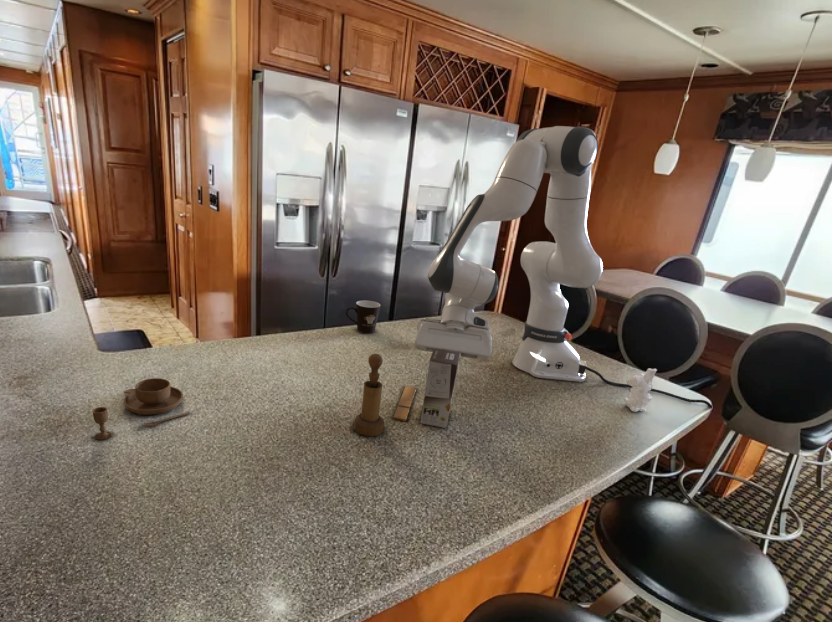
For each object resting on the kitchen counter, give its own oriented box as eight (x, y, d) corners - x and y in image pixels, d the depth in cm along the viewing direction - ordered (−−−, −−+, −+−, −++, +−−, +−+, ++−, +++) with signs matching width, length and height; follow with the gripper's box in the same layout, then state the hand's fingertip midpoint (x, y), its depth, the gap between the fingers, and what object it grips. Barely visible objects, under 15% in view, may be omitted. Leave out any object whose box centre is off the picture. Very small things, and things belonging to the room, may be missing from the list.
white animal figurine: (634, 401, 130) (647, 363, 126) (656, 413, 125) (670, 373, 120) (614, 405, 127) (626, 365, 123) (635, 416, 121) (649, 376, 117)
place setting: (199, 412, 102) (197, 388, 100) (99, 443, 88) (95, 416, 86) (164, 383, 112) (163, 361, 110) (70, 407, 98) (66, 382, 96)
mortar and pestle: (387, 425, 104) (395, 353, 98) (377, 439, 99) (386, 363, 92) (360, 418, 106) (366, 346, 100) (349, 431, 100) (355, 356, 94)
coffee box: (447, 429, 106) (458, 365, 100) (419, 423, 107) (429, 360, 101) (450, 410, 114) (460, 351, 108) (424, 406, 115) (433, 346, 109)
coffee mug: (378, 328, 169) (381, 302, 165) (376, 335, 161) (379, 308, 157) (347, 324, 169) (349, 298, 166) (343, 331, 161) (345, 304, 158)
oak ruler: (416, 389, 124) (416, 387, 123) (405, 421, 107) (406, 419, 107) (405, 387, 124) (405, 385, 124) (393, 418, 108) (393, 416, 107)
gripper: (419, 311, 124) (409, 357, 118) (495, 322, 120) (489, 370, 115) (419, 322, 129) (410, 366, 124) (492, 333, 126) (486, 379, 121)
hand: (448, 368), depth 119 cm, fingers closed
